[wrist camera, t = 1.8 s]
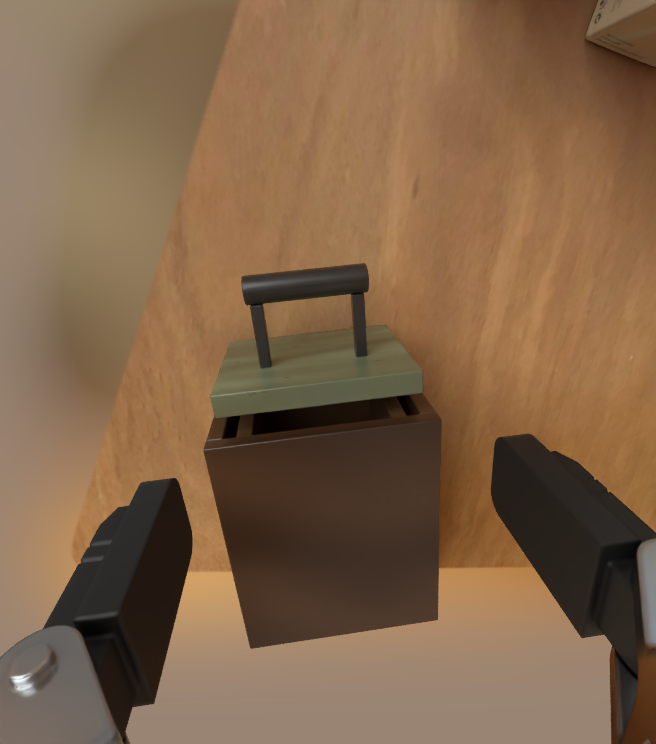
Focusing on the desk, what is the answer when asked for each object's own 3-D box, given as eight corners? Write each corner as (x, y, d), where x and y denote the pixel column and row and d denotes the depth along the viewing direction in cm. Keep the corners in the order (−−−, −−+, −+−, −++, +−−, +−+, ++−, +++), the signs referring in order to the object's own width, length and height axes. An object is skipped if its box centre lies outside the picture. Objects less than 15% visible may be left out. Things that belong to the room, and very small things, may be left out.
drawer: (215, 265, 25) (187, 293, 18) (383, 247, 25) (423, 268, 18) (259, 502, 31) (252, 593, 24) (391, 484, 32) (423, 568, 25)
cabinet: (227, 370, 28) (202, 449, 19) (393, 350, 29) (441, 419, 20) (258, 529, 33) (250, 649, 25) (397, 510, 34) (438, 620, 25)
